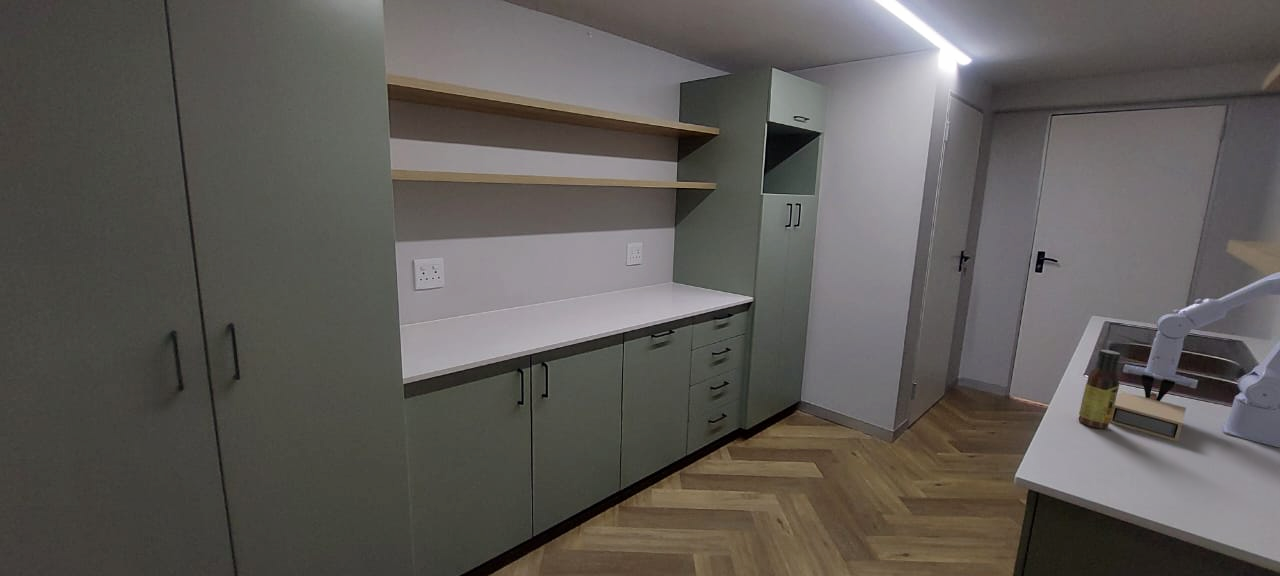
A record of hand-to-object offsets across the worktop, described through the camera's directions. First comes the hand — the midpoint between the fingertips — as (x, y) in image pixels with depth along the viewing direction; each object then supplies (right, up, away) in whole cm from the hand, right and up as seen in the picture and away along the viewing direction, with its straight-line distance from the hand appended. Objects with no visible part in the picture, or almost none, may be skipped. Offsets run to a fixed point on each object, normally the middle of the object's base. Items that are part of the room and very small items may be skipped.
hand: (1151, 403), depth 146 cm
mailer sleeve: (-9, -4, -7) cm, 12 cm away
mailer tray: (-6, -3, -5) cm, 9 cm away
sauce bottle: (-24, -4, -9) cm, 26 cm away
